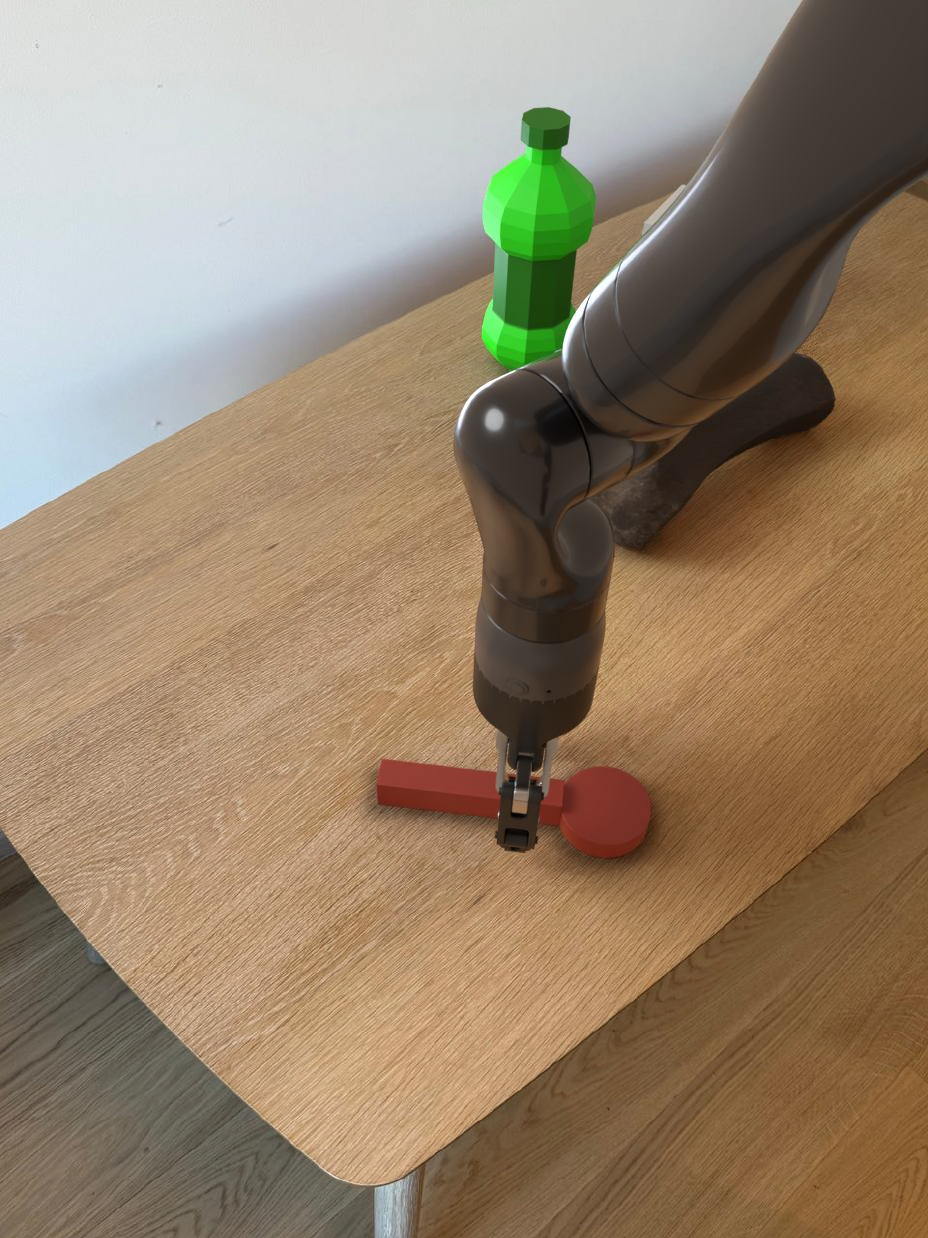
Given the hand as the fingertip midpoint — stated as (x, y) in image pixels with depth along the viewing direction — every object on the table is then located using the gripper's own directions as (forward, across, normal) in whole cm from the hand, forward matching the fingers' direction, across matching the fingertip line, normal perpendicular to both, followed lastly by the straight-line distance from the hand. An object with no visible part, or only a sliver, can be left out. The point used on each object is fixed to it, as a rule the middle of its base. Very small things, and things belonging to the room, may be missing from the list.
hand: (521, 791), depth 77 cm
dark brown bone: (+2, +38, -13) cm, 40 cm away
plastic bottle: (+2, +53, +4) cm, 53 cm away
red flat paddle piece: (+2, 0, 0) cm, 2 cm away
